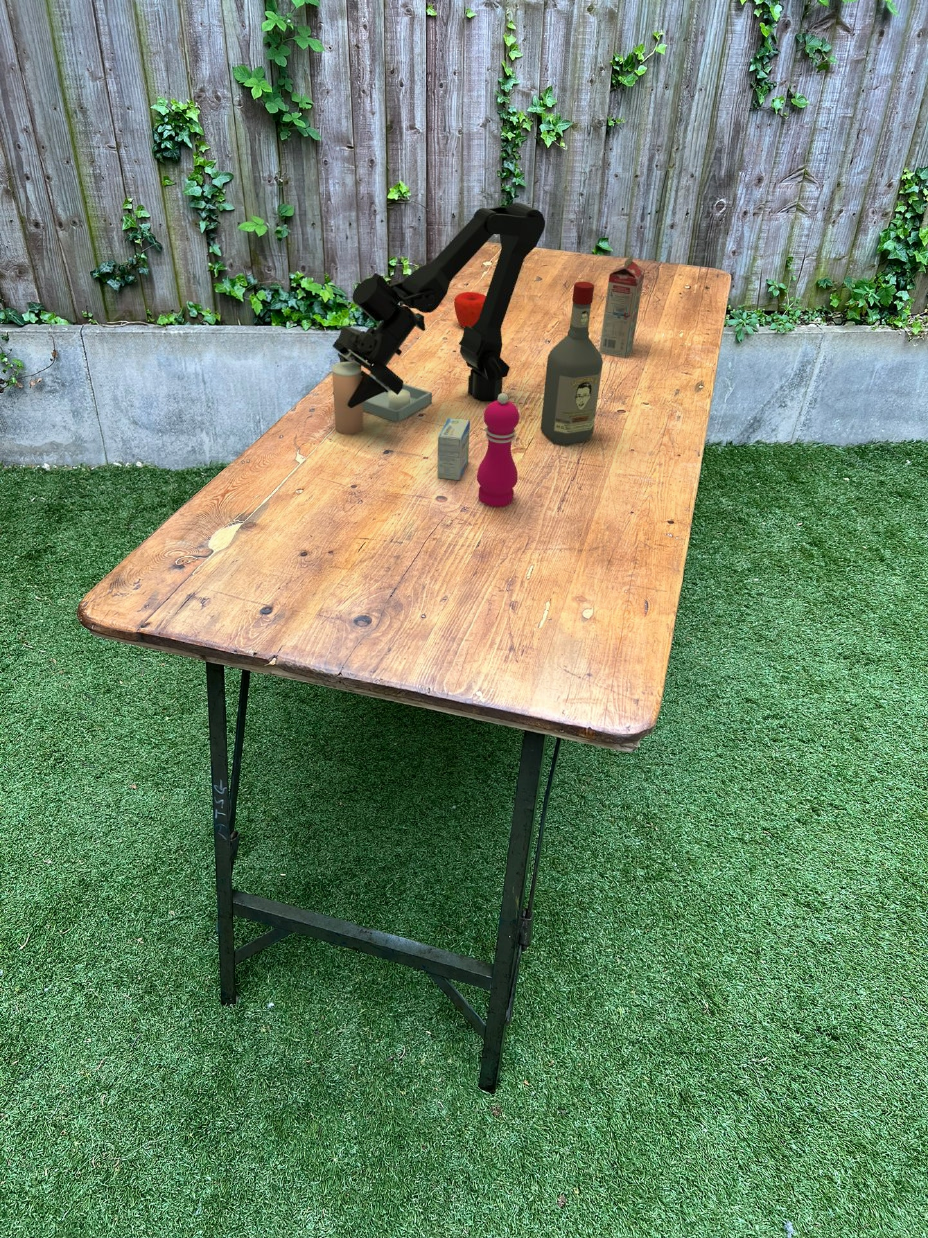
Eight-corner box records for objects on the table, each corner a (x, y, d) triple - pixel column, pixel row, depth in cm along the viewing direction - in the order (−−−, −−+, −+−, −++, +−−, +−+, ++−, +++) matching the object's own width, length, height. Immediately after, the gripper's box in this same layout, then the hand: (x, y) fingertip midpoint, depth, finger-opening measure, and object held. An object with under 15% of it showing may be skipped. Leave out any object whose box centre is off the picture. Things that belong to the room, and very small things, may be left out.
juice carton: (598, 353, 220) (611, 258, 207) (606, 343, 225) (619, 251, 211) (625, 358, 218) (640, 263, 205) (632, 348, 223) (647, 255, 210)
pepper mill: (473, 488, 167) (479, 384, 154) (513, 488, 167) (521, 384, 155) (477, 509, 161) (483, 402, 149) (518, 508, 162) (527, 402, 149)
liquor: (535, 428, 187) (550, 279, 168) (575, 422, 190) (593, 274, 171) (556, 448, 180) (574, 295, 162) (596, 441, 183) (618, 290, 165)
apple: (495, 325, 232) (497, 294, 227) (476, 335, 226) (478, 303, 221) (465, 317, 235) (466, 286, 231) (446, 327, 229) (447, 295, 225)
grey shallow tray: (431, 405, 193) (431, 392, 191) (397, 426, 185) (397, 412, 183) (371, 386, 200) (371, 372, 198) (336, 404, 192) (335, 391, 190)
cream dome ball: (414, 406, 191) (414, 392, 189) (401, 413, 188) (401, 399, 186) (397, 400, 193) (397, 387, 191) (384, 407, 190) (384, 394, 188)
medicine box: (460, 481, 168) (462, 438, 163) (436, 478, 169) (437, 435, 164) (468, 461, 175) (470, 419, 169) (445, 458, 175) (447, 416, 170)
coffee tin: (369, 429, 183) (367, 366, 175) (351, 439, 179) (348, 376, 171) (347, 421, 185) (344, 359, 177) (329, 431, 181) (325, 368, 173)
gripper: (338, 295, 175) (291, 361, 177) (388, 326, 164) (336, 397, 165) (375, 328, 184) (329, 391, 186) (425, 360, 172) (375, 427, 174)
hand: (341, 401), depth 177 cm, fingers closed on coffee tin, 5 cm apart
